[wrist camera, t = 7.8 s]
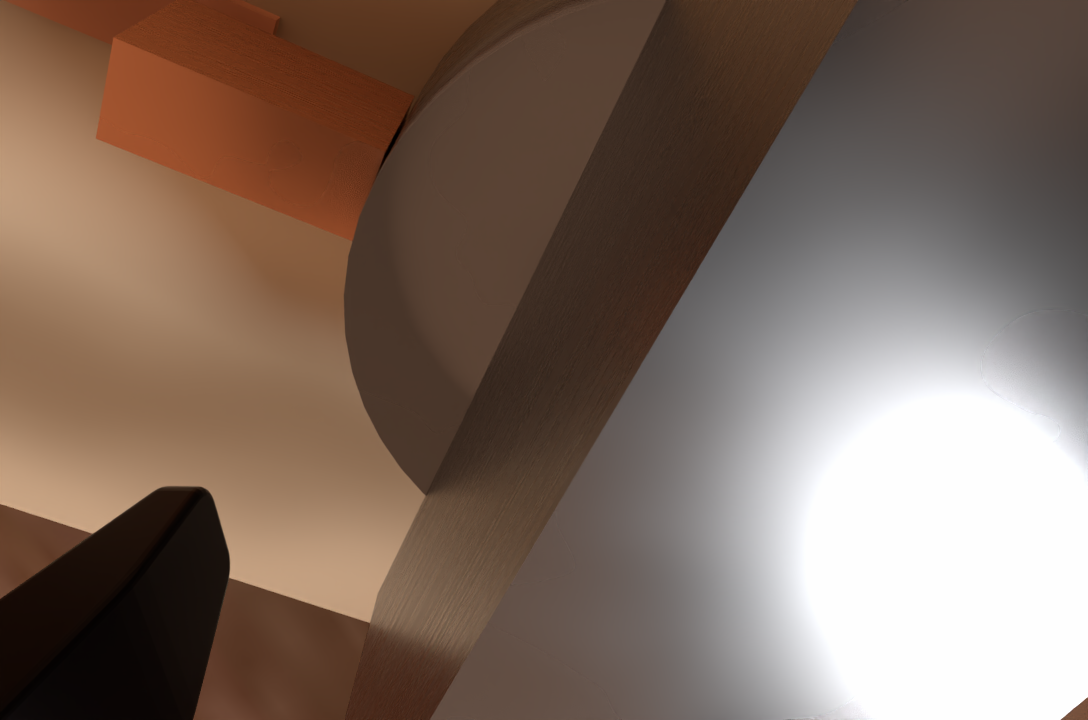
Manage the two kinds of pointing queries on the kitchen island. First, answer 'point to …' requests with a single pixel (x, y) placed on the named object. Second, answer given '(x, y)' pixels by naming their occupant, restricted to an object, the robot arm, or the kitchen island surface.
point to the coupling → (694, 343)
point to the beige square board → (191, 311)
